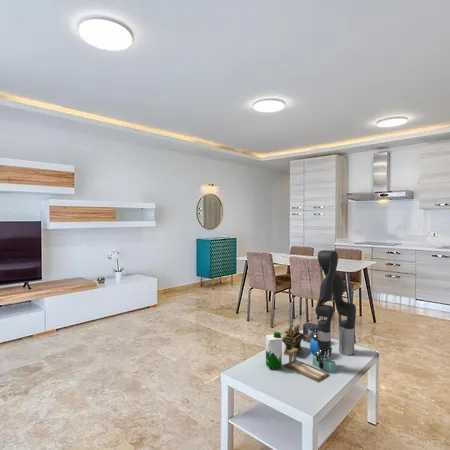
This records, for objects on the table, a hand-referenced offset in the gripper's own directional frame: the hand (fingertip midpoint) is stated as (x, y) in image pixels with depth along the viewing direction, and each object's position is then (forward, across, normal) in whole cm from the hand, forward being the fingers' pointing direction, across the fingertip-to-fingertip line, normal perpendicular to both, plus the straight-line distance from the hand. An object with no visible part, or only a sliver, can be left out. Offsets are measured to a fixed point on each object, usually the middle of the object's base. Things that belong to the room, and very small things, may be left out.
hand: (323, 366), depth 188 cm
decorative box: (+1, -2, -25) cm, 25 cm away
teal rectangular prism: (+1, 0, 0) cm, 1 cm away
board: (+1, +11, -4) cm, 12 cm away
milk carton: (+1, +22, -20) cm, 30 cm away
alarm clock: (+1, -12, -11) cm, 16 cm away
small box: (+1, -29, -27) cm, 40 cm away
